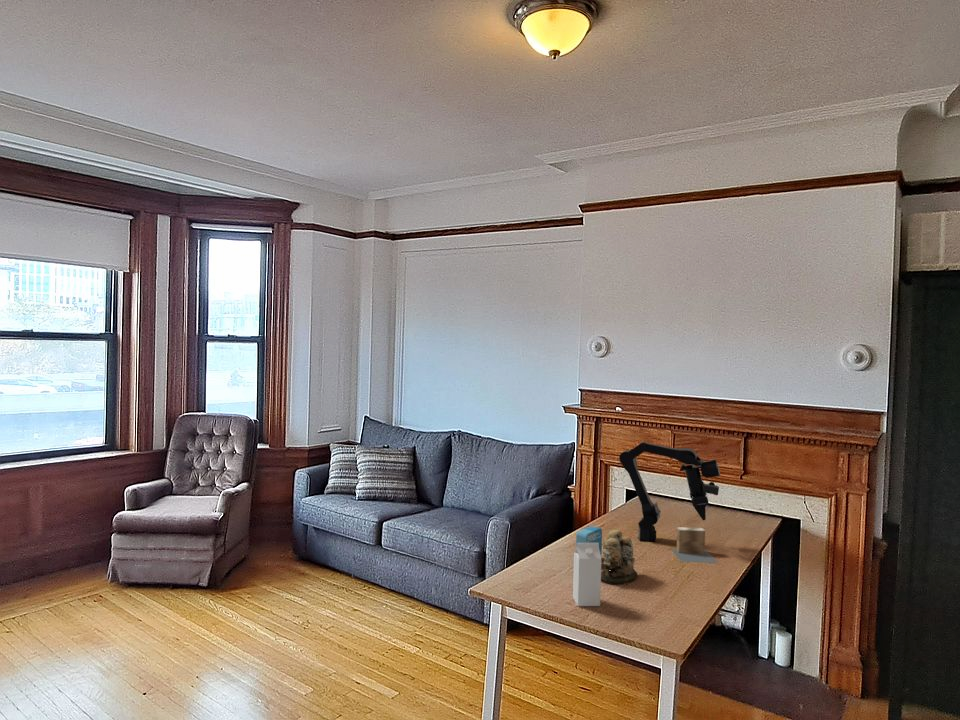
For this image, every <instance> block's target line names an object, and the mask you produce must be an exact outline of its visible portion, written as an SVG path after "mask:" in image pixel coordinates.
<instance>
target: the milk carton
mask: <svg viewBox="0 0 960 720" xmlns="http://www.w3.org/2000/svg"><path fill="white" fill-rule="evenodd" d="M601 572H602V554H600V550H599V543H577V547H576V546H575V549H574V551H573V575H572V576H573V578H572V579H573V580H572V581H573V583H572V598H573V600H574V601H575V604H576V606H577V607H601V592H602V591H601V586H602V585H601V584H602V581H601Z"/></svg>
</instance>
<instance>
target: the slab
mask: <svg viewBox="0 0 960 720" xmlns="http://www.w3.org/2000/svg"><path fill="white" fill-rule="evenodd" d="M705 544H706V530H705V529H704V528H703V527H685V526H684V527H682V526H681V527H680V526H678V527H677V528H676V549H677V551H678V553H693V554H704V552H705V549H706V548H705V546H706V545H705Z"/></svg>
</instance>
